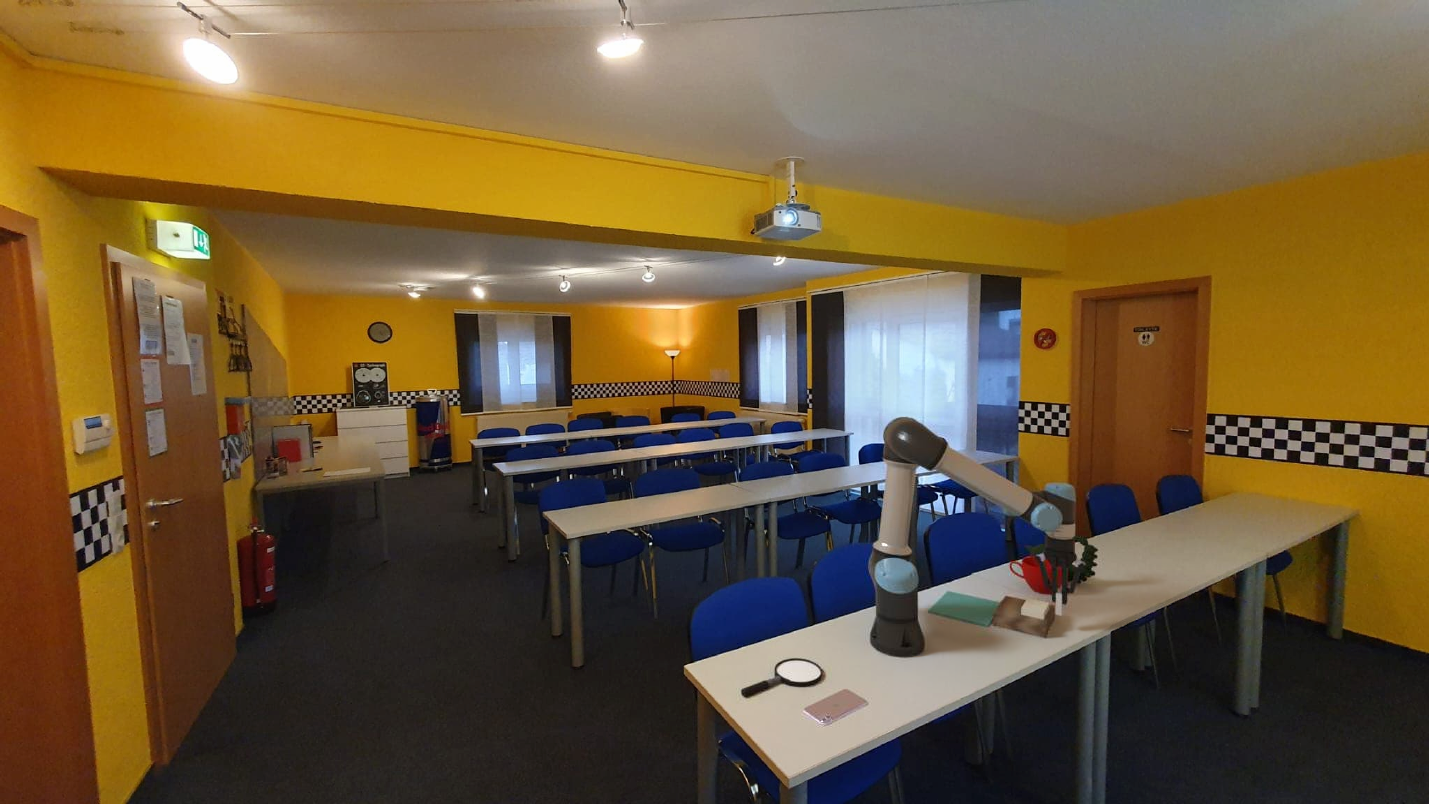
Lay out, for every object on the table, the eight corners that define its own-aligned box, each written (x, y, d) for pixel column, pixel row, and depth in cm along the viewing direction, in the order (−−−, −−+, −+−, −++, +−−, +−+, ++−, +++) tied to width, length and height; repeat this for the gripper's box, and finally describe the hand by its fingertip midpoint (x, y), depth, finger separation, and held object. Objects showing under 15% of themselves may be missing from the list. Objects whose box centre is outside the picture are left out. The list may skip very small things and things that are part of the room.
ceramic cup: (1012, 579, 211) (1012, 552, 210) (1065, 588, 201) (1066, 560, 200) (1006, 590, 200) (1006, 563, 200) (1062, 601, 190) (1063, 571, 190)
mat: (928, 612, 185) (928, 610, 185) (947, 592, 200) (947, 590, 200) (987, 627, 173) (987, 625, 173) (1003, 604, 189) (1003, 603, 189)
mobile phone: (869, 701, 137) (823, 724, 128) (869, 705, 137) (823, 728, 128) (845, 686, 143) (800, 708, 135) (845, 690, 143) (801, 712, 135)
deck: (993, 625, 174) (993, 612, 174) (1005, 607, 187) (1005, 595, 186) (1045, 638, 166) (1045, 624, 165) (1054, 618, 178) (1054, 605, 178)
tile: (1021, 614, 172) (1021, 608, 172) (1027, 604, 179) (1027, 598, 179) (1043, 619, 169) (1043, 612, 168) (1049, 609, 176) (1049, 602, 175)
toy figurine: (1098, 589, 203) (1030, 563, 224) (1104, 538, 200) (1034, 517, 222) (1083, 595, 198) (1015, 568, 220) (1089, 543, 195) (1019, 521, 217)
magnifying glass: (729, 686, 147) (729, 678, 146) (800, 660, 159) (800, 652, 159) (758, 710, 136) (758, 701, 136) (832, 679, 149) (832, 671, 149)
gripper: (1032, 535, 170) (1032, 612, 171) (1084, 542, 161) (1083, 624, 163) (1037, 529, 175) (1037, 604, 177) (1087, 536, 167) (1087, 614, 169)
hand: (1059, 613), depth 170 cm, fingers closed
